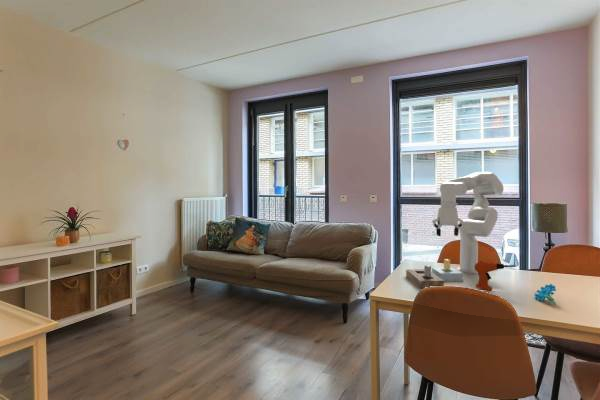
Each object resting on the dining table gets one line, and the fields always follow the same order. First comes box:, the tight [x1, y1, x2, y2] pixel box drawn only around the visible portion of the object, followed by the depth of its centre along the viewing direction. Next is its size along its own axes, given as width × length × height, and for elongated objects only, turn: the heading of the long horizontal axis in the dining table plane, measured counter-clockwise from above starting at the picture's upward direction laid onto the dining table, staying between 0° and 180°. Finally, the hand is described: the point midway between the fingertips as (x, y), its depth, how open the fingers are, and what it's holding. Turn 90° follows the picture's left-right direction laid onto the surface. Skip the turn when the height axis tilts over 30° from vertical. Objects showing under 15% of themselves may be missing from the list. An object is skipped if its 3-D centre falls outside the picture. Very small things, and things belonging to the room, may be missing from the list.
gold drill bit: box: [443, 258, 451, 272], centre depth 193 cm, size 3×3×10 cm
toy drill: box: [474, 260, 516, 292], centre depth 173 cm, size 5×19×15 cm, turn 64°
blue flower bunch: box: [534, 283, 557, 305], centre depth 158 cm, size 11×6×10 cm
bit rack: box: [405, 268, 445, 290], centre depth 185 cm, size 12×22×5 cm, turn 1°
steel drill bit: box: [424, 264, 432, 279], centre depth 179 cm, size 3×3×10 cm
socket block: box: [431, 266, 464, 282], centre depth 193 cm, size 12×12×5 cm
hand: (447, 235), depth 191 cm, fingers open, 9 cm apart
